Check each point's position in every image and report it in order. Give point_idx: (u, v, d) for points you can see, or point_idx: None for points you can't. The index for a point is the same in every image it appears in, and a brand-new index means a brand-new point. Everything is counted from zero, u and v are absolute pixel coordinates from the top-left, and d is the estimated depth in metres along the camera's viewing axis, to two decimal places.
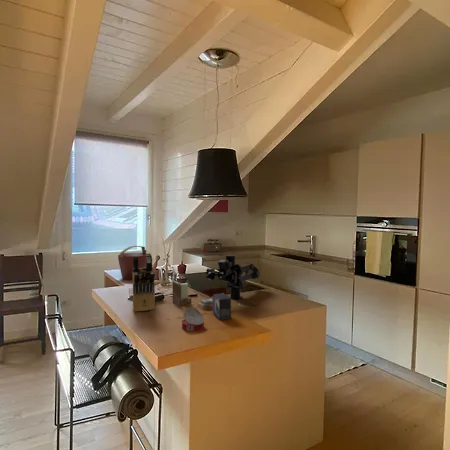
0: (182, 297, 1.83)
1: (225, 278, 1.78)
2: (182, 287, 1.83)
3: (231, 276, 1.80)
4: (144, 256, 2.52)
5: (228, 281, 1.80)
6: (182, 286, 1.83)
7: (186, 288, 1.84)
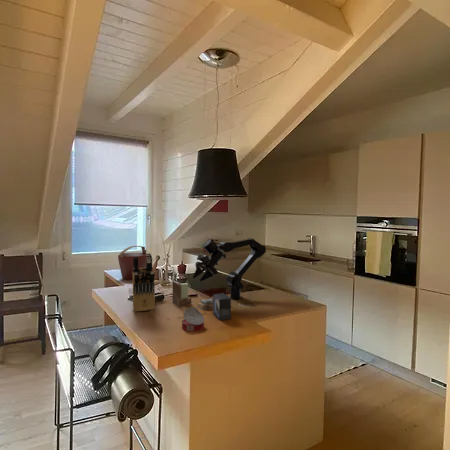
0: (182, 297, 1.83)
1: (205, 277, 1.84)
2: (182, 287, 1.83)
3: (209, 272, 1.83)
4: (144, 256, 2.52)
5: (209, 276, 1.85)
6: (182, 286, 1.83)
7: (186, 288, 1.84)
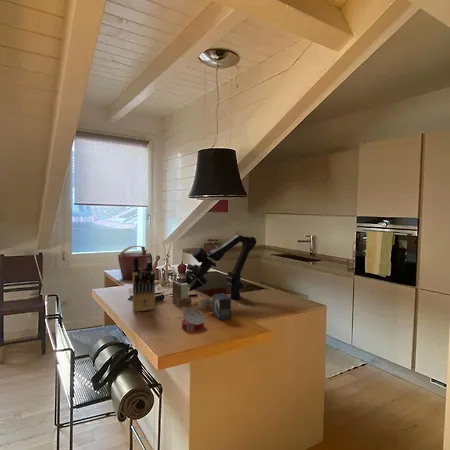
0: (182, 297, 1.83)
1: (194, 286, 1.81)
2: (182, 287, 1.83)
3: (198, 282, 1.80)
4: (144, 256, 2.52)
5: (199, 286, 1.82)
6: (182, 286, 1.83)
7: (186, 288, 1.84)
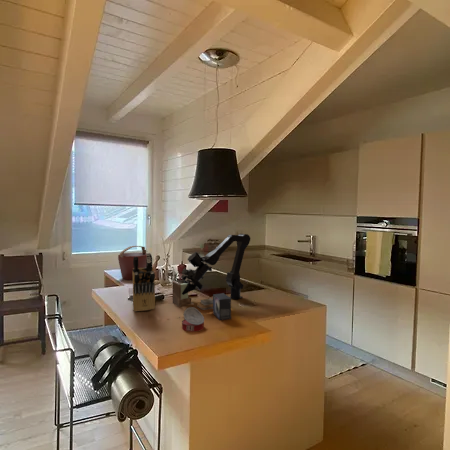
0: (182, 297, 1.83)
1: (187, 290, 1.83)
2: (182, 287, 1.83)
3: (191, 285, 1.82)
4: (144, 256, 2.52)
5: (192, 290, 1.84)
6: (182, 286, 1.83)
7: None
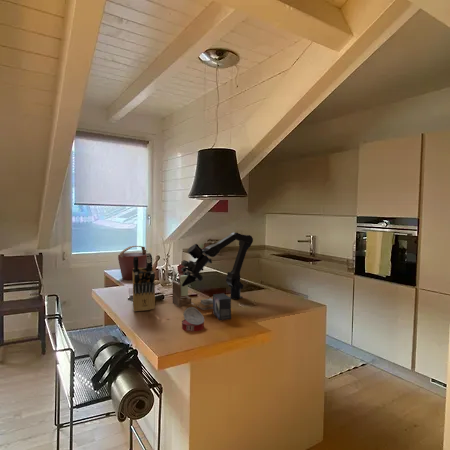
0: (182, 289, 1.83)
1: (187, 282, 1.83)
2: (182, 279, 1.82)
3: (191, 277, 1.82)
4: (144, 256, 2.52)
5: (192, 281, 1.83)
6: (182, 278, 1.82)
7: None
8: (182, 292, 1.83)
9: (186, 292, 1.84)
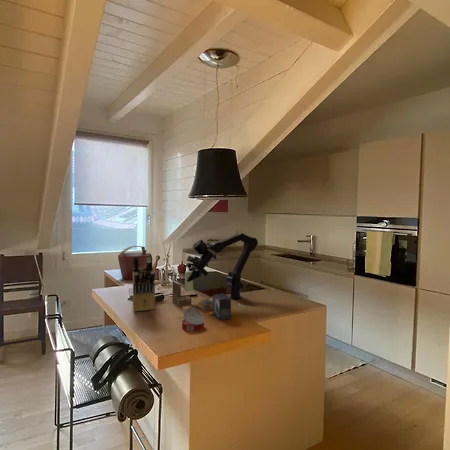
0: (187, 284, 1.84)
1: (192, 277, 1.84)
2: (187, 275, 1.84)
3: (196, 272, 1.83)
4: (144, 256, 2.52)
5: (197, 277, 1.85)
6: (187, 274, 1.84)
7: None
8: (187, 288, 1.84)
9: (191, 288, 1.85)
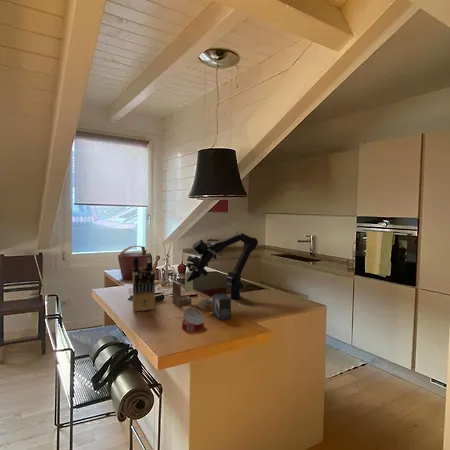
0: (187, 285, 1.84)
1: (192, 277, 1.84)
2: (187, 275, 1.84)
3: (196, 272, 1.83)
4: (144, 256, 2.52)
5: (197, 277, 1.85)
6: (187, 274, 1.84)
7: None
8: (187, 288, 1.84)
9: (191, 288, 1.85)
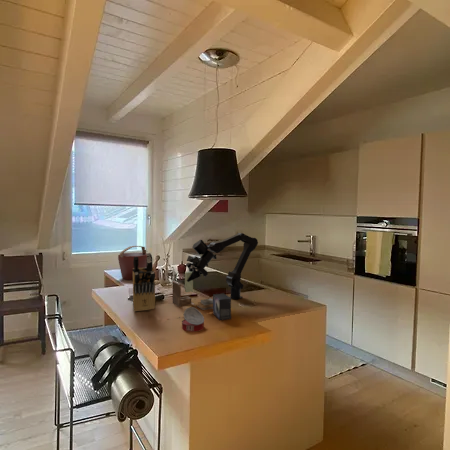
0: (187, 285, 1.84)
1: (192, 277, 1.84)
2: (187, 275, 1.84)
3: (196, 272, 1.83)
4: (144, 256, 2.52)
5: (197, 277, 1.85)
6: (187, 274, 1.84)
7: None
8: (187, 288, 1.84)
9: (191, 288, 1.85)
